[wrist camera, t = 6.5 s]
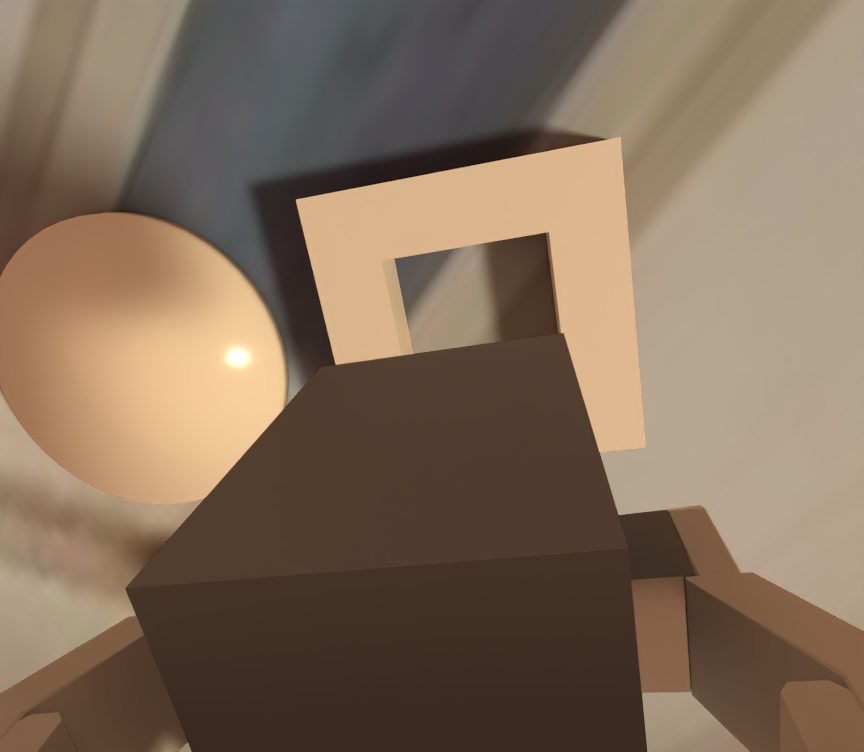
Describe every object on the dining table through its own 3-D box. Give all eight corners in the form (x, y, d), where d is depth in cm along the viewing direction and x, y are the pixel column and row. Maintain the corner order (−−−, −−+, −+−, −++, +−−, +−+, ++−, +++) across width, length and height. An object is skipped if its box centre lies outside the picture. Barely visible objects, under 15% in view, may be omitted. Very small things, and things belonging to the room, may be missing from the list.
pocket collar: (609, 139, 24) (620, 137, 21) (633, 422, 27) (645, 447, 25) (314, 195, 26) (295, 199, 23) (374, 453, 29) (363, 478, 27)
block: (563, 332, 12) (628, 548, 5) (588, 548, 14) (663, 917, 7) (321, 366, 13) (124, 588, 6) (370, 566, 14) (256, 909, 8)
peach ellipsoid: (241, 184, 26) (231, 185, 25) (319, 478, 30) (314, 488, 29) (-42, 241, 28) (-61, 243, 27) (68, 506, 32) (55, 516, 32)
